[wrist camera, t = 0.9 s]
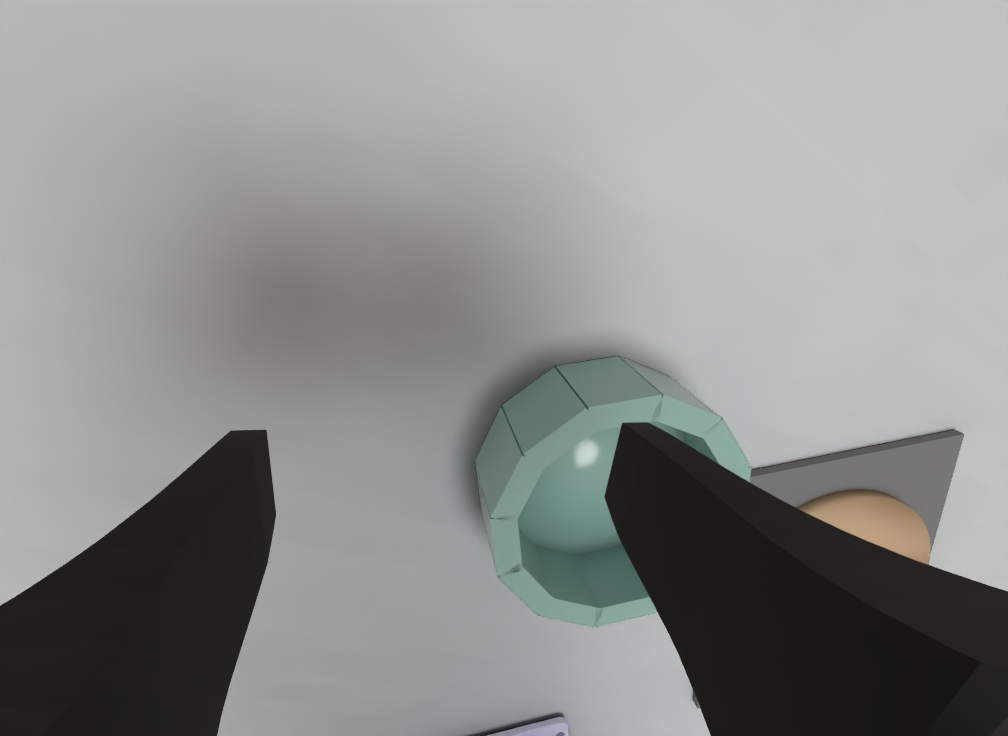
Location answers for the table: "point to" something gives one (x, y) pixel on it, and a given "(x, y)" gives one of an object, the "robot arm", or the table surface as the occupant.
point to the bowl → (580, 483)
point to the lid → (874, 520)
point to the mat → (873, 475)
